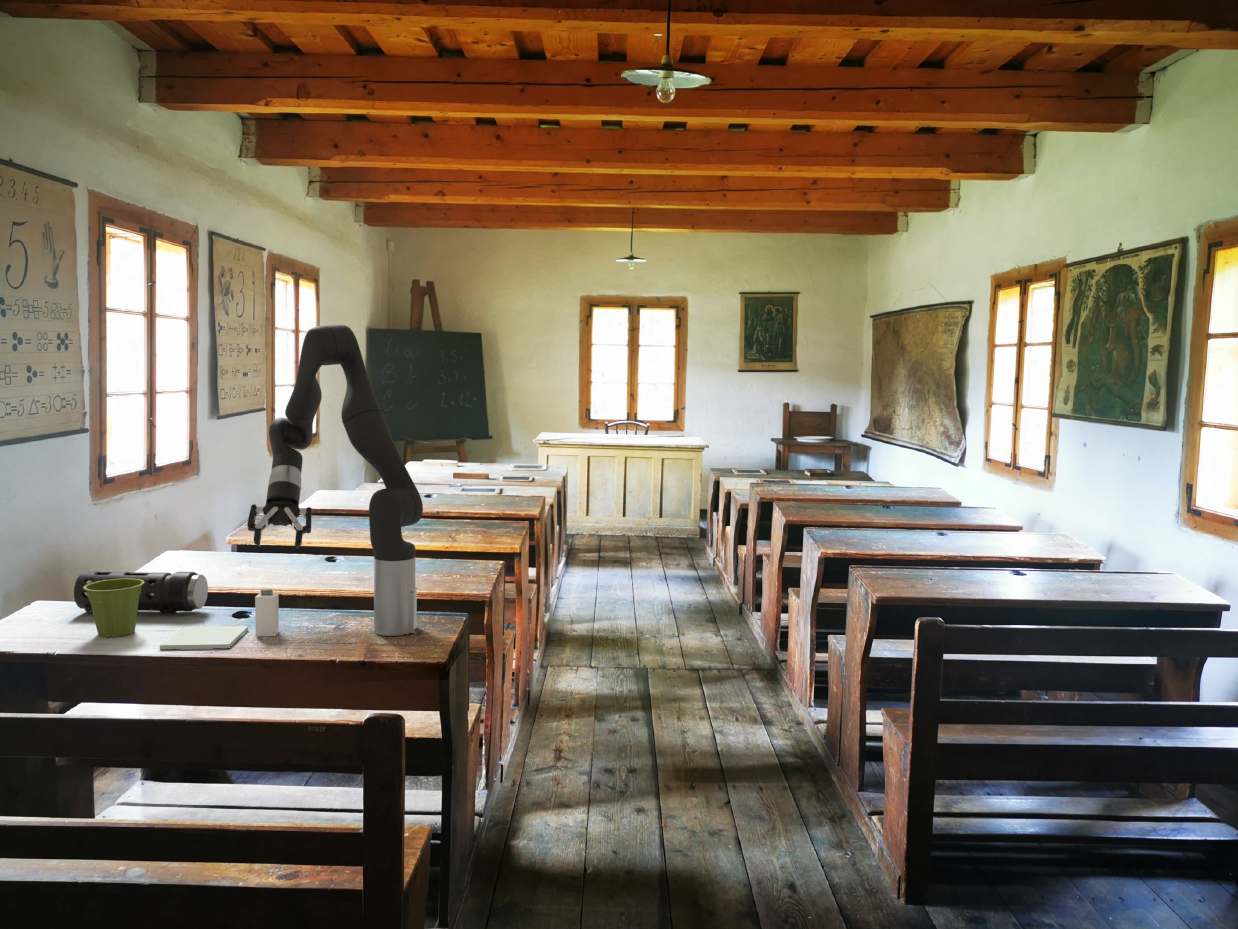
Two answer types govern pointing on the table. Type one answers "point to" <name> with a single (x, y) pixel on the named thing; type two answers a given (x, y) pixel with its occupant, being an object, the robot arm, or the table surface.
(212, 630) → the board
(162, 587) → the muzzle brake
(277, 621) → the plug block
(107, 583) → the plant pot
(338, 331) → the robot arm
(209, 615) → the table surface
